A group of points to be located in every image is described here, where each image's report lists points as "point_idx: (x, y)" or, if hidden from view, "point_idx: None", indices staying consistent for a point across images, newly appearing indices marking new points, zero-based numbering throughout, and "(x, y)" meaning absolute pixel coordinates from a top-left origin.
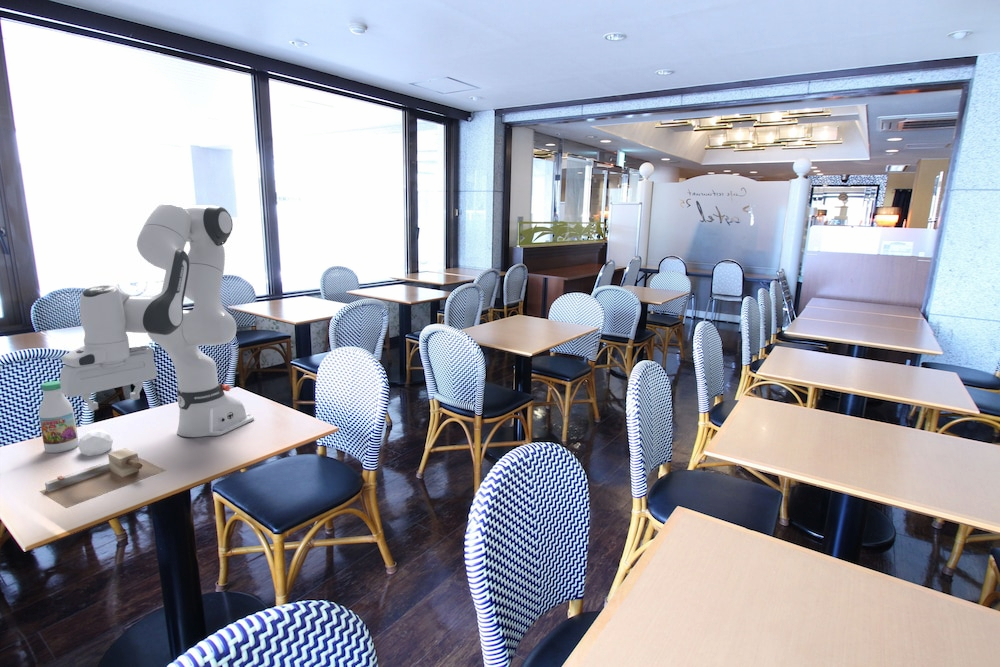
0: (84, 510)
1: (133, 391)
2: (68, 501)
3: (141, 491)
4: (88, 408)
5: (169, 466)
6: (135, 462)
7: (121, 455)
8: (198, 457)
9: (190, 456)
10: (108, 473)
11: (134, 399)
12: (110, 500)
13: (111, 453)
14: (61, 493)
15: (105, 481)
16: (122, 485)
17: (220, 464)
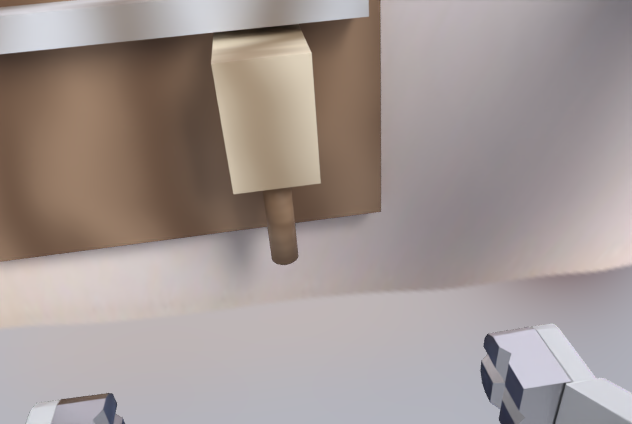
0: (61, 260)
1: (570, 394)
2: (5, 215)
3: (254, 258)
4: (32, 411)
5: (428, 123)
6: (281, 238)
7: (256, 153)
8: (547, 127)
9: (540, 89)
10: (197, 54)
11: (489, 384)
12: (151, 250)
13: (226, 79)
14: None
15: (164, 137)
16: (207, 225)
17: (535, 249)
